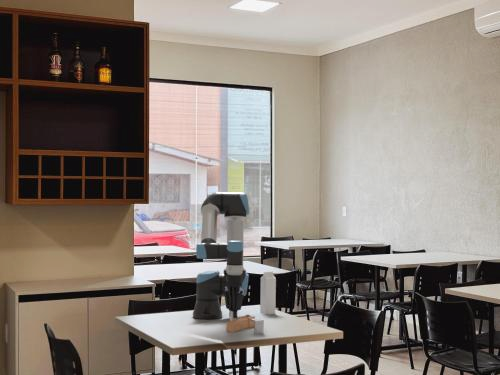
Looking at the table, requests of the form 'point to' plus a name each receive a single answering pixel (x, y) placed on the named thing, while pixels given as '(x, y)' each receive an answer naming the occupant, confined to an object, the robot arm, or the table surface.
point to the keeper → (258, 325)
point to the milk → (268, 293)
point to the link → (239, 323)
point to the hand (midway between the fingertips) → (233, 324)
